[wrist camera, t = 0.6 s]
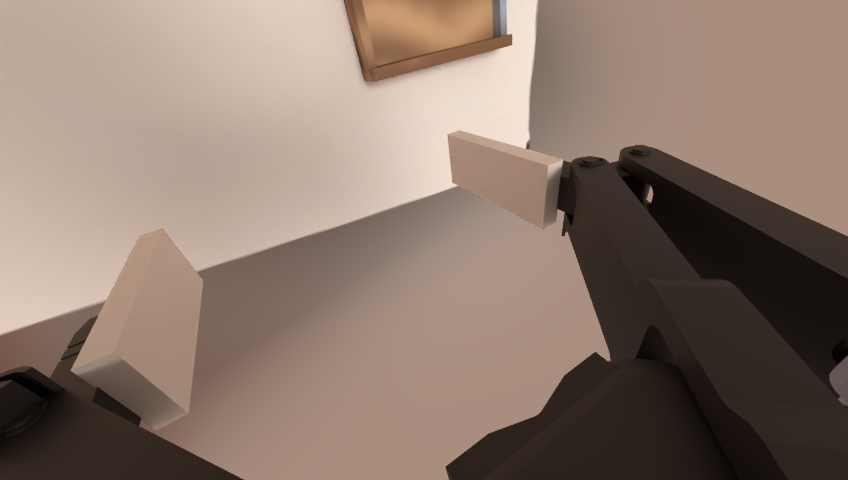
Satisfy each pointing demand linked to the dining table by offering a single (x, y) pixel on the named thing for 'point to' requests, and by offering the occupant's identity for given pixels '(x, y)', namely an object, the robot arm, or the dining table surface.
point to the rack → (423, 32)
